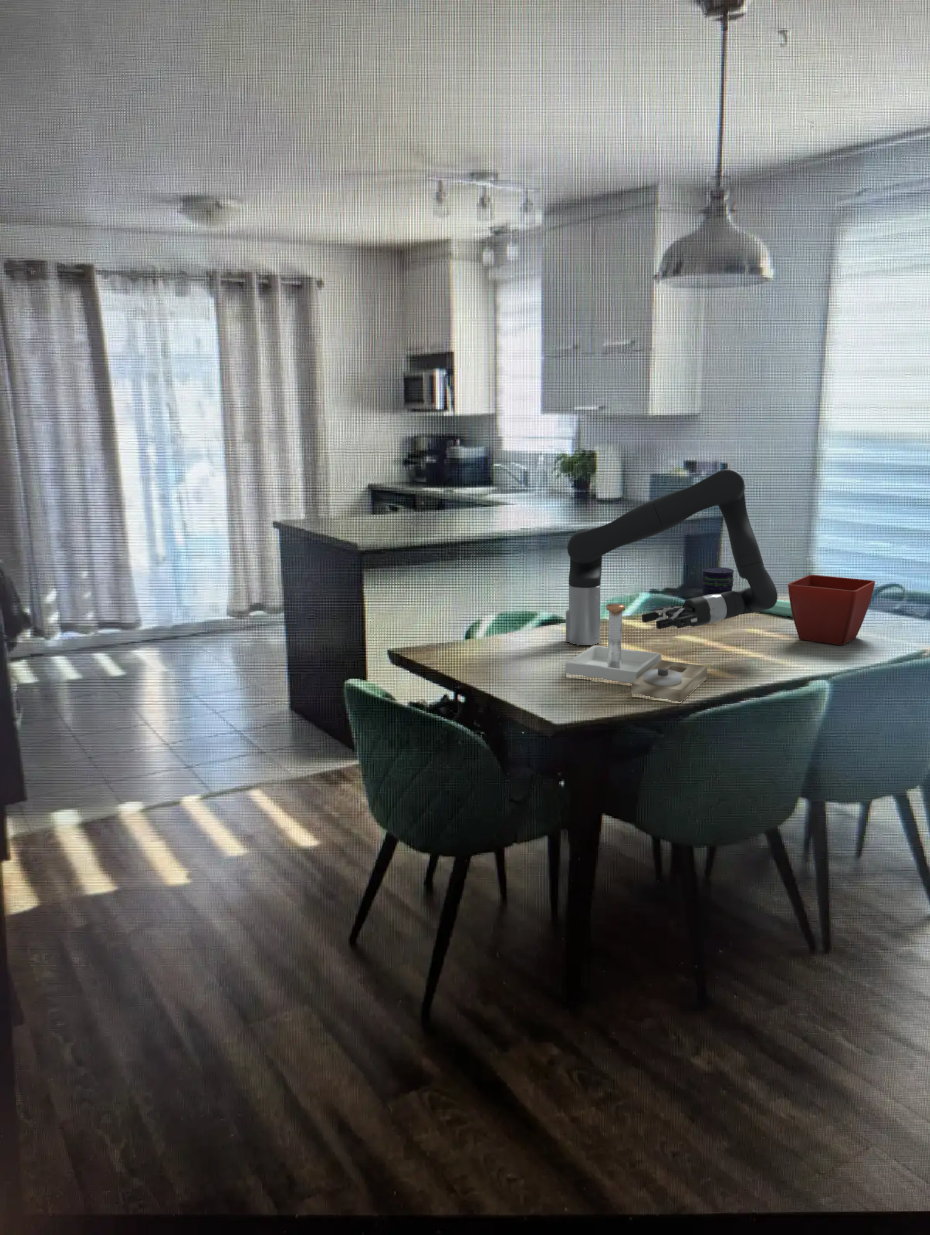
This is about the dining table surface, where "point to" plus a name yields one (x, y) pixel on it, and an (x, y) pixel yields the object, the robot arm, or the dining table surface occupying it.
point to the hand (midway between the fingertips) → (649, 621)
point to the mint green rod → (780, 608)
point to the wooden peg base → (670, 680)
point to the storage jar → (717, 580)
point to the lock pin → (615, 634)
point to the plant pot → (829, 607)
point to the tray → (597, 666)
